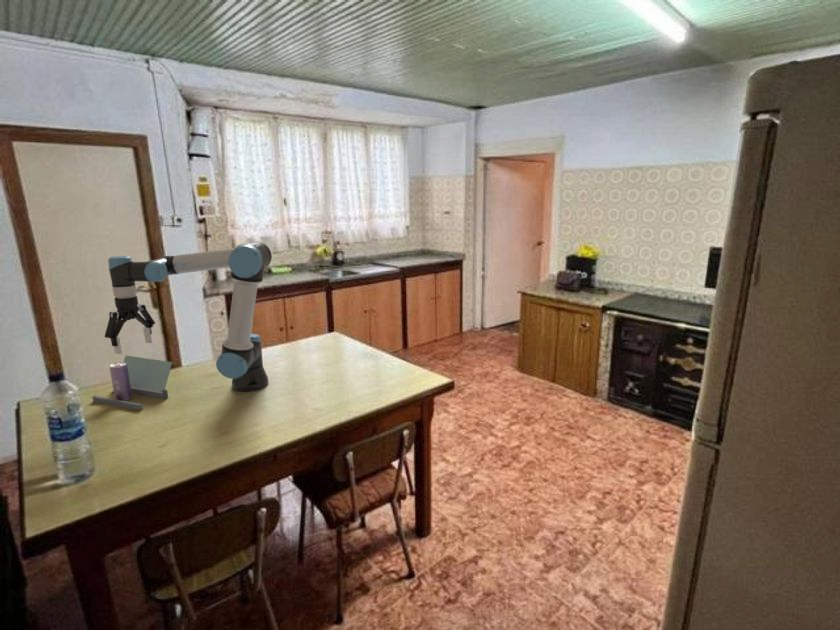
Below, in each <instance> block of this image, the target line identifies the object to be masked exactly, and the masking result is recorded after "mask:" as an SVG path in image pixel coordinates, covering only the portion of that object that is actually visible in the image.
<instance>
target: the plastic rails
mask: <svg viewBox="0 0 840 630" xmlns="http://www.w3.org/2000/svg"><path fill="white" fill-rule="evenodd" d="M131 391H132V394H133V395H134V394H135V395H140V396H146V397H152V398H158V399H163V400H167V399H169V393H168V389H165V390H163V392H158V391H152V390H146V389H140V388H134V387H131ZM92 401H93V403H97V404H104V405H109V406H114V407H120V408H125V409H131V410H136V411H142V410H143V409H144V408H143V404H142V403H136V402H132V401H128V400H126V401H121V400H115V398H111V397H110V398H108V397H103V396H99V395H93V396H92Z"/></svg>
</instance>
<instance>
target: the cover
mask: <svg viewBox="0 0 840 630" xmlns="http://www.w3.org/2000/svg"><path fill="white" fill-rule="evenodd" d="M123 362H125V363H126V364H127V367H128V373H129V379H130V385H131V387H134V388H140V389H146V390H152V391H158V392H163V390H166V386H167V383H168V380H169V376H170V372H171V368H172V366H173V362H172V361H166V360H159V359H154V358H145V357H138V356H132V355H125V356H124V359H123Z"/></svg>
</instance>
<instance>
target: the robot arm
mask: <svg viewBox="0 0 840 630" xmlns="http://www.w3.org/2000/svg"><path fill="white" fill-rule="evenodd" d="M272 257H273V256H272V251H271V249H270V248H269V246H268V245H266V244H265V243H264V242H261V241H258V240H257V241H256V240H255V241H250V242H247V243H243V244H238V245H236V247H234V248H225V249H223V248H222V249H217V250H210V251H208V250H207V251H202V252H193V253H184V254H177V255H164V256H161V257H159V258H155V259H152V260H148V261H133V260H132V258H131V256H129V255H116V256H110V257H109V258H108V260H107V261H108V270H109V275H110V281H111V286H112V292H113V293H112V294H113V296H114V305H115V307H116V311H110V312H109V313H108V315H109V318H108V322H107V326H106V329H105V332H104V337H105V338H106V339H110V342H111V346H112V347H113V350H114V354H116V355H123V351H122V345H121V340H120V337H118V336H119V334H120V333H121V331H122V328H123V326H124V324H125V323H126V322H127V321H130V320H137V321H138V322H139V323H140V324H141V325H142V326H144V327H142V329H143V336H144V340H145V344H146V343H147V344H152V343H153V341H152V334H153V332H152V328H153V327H154V325H155V324H156V322H155V320H154V318H152V316H151V314H150V313H149V311H148V310H147V306H146V305H145V304H142V303H140V304H139V300H138V296H137V293H138V292H137V288H136V282H144V283H145V282H150V283H157V282H158V283H159V282H163V281H165V280H166V278H167V277H168V276H172V275H180V274H189V273H195V272H204V271H211V270H213V271H214V270H221V269H230V278H231V279H232V281H233V282H234V283H233V288H232V296H231V297H232V298H231V305H230V312H229V313H230V314H229V321H228V330H227V338H226V339H224V340H223V341H222V344H221V345H222V346H221V353H220V355H218V357H217V359H216V362H215V367H216V369H217V371H218V372H219V373H220V374H221V375H222V376H223V377H225V378H227V379H231V388H232V389H233V390H235V391H239V392H252V390H254V391H256V390H257V389H258V390H260V388H261V389H263V388H265V387H266V386H268V384H269V377H268V375H267V373H266V370H265V368H264V364H263V363H264V362H263V350H262V341H261V340H262V339H261V336H260V335H259V334H256V333H252V331H253V330H252V329H253V323H254V315H255V309H256V308H255V307H256V301H257V292H258V288H259V287H258V285H260V284H261V283H262V282H263V280H264V273H265V269H267V267H268V266H269V265H270V263H271V261H272ZM139 312H140V313H139ZM264 386H265V387H264ZM262 387H263V388H262Z"/></svg>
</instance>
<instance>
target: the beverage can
mask: <svg viewBox="0 0 840 630" xmlns="http://www.w3.org/2000/svg"><path fill="white" fill-rule="evenodd" d="M109 371H110V378H111V382H112V388H113V389H112V390H113V396H114V399H115V400H121V401H128V400H131V398H132V397H133V393H132V391H131V385H130V379H129V373H128V367H127V364H126V363H125V362H124V361H120V362H119V361H117V362H114V363H112V364H111V363H110V365H109Z"/></svg>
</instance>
